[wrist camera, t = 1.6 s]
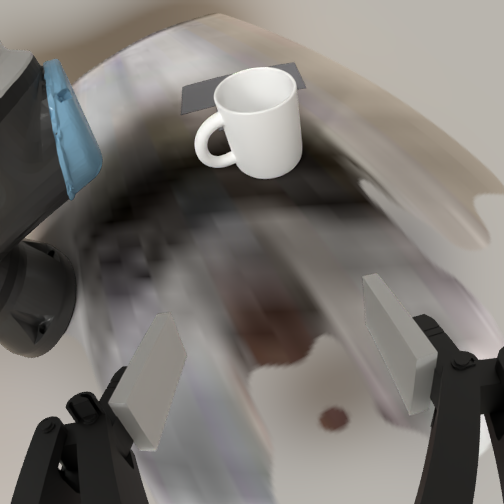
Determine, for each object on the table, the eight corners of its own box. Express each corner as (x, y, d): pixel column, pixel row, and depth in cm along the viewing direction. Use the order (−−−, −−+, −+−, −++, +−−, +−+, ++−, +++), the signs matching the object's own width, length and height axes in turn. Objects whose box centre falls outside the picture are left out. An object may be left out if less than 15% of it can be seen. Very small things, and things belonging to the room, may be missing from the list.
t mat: (181, 143, 43) (180, 140, 42) (183, 89, 49) (182, 86, 48) (317, 114, 41) (317, 111, 40) (294, 64, 47) (294, 62, 47)
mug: (222, 208, 36) (194, 144, 27) (198, 162, 40) (170, 101, 31) (316, 162, 36) (312, 93, 27) (282, 123, 40) (271, 59, 31)
